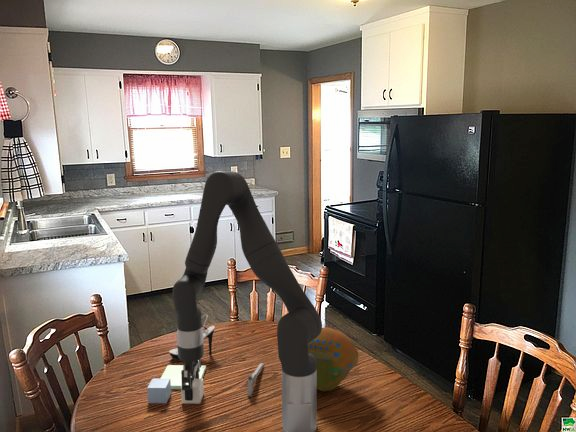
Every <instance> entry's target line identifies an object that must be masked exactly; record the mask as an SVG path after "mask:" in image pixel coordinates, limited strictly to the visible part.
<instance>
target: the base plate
mask: <svg viewBox="0 0 576 432" xmlns="http://www.w3.org/2000/svg"><path fill="white" fill-rule="evenodd" d="M183 365H184V364H181V365H180V364H179V365H177V364H175V365H171V364H167V366H166V368H165V369H164V371H163V373H162V375H161V377H160V378H165V379H170V382H171V390H181V387H182V375H181V371H182V370H183ZM206 371H207V365H202V364H201V368H200V372H199V379H204V376H205V373H206Z"/></svg>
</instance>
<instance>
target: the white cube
mask: <svg viewBox="0 0 576 432" xmlns="http://www.w3.org/2000/svg"><path fill="white" fill-rule="evenodd" d="M186 385H189V384H188V383H186ZM204 390H205V389H204V378H202V379H195V381H193V400H191V401H187V400H185V390H182V387H181V389H180V392H181V393H180V394H181V395H180V396H181V404H201V403H202V400H203V396H204V394H205V393H204Z"/></svg>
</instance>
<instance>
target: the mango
mask: <svg viewBox="0 0 576 432" xmlns="http://www.w3.org/2000/svg"><path fill="white" fill-rule="evenodd" d="M308 352H309V353H310V354H312V355H314V356H315V358H316V361H317V391H318V390H319V391H321V392H330V391H332V390H334V389H336V388H337V387H338V386H339V385H340V384H341V383H342V382H343V381H345V379H346V378H347V377H348V375H349V373H350V371H352V370H353V369H354V368H355V367H356V366H357V365H358V363H359V352H358V349H357V347H356V346H355V344H354V342H353V341H352V340H351V338H349V337H348V335H346V334H344V332H342V331H341V330H337V329H334V328H332V327H322V331H321V333H320V335H319V336H318V337H316V338H315V339H314V340H312V341H311V342H309V343H308Z"/></svg>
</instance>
